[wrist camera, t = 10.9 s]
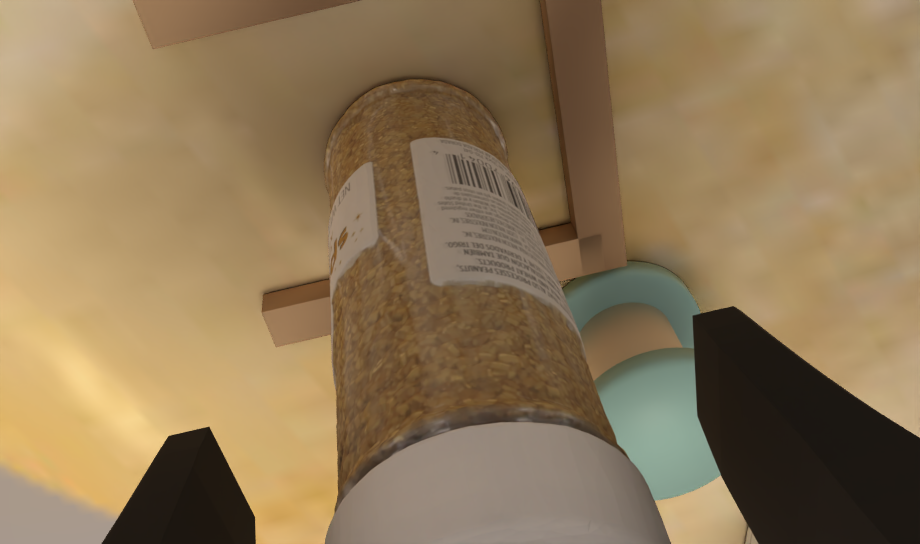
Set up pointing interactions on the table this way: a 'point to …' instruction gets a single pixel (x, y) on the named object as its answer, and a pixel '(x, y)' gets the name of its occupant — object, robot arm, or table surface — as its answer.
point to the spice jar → (458, 345)
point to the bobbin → (646, 370)
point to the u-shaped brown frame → (578, 119)
